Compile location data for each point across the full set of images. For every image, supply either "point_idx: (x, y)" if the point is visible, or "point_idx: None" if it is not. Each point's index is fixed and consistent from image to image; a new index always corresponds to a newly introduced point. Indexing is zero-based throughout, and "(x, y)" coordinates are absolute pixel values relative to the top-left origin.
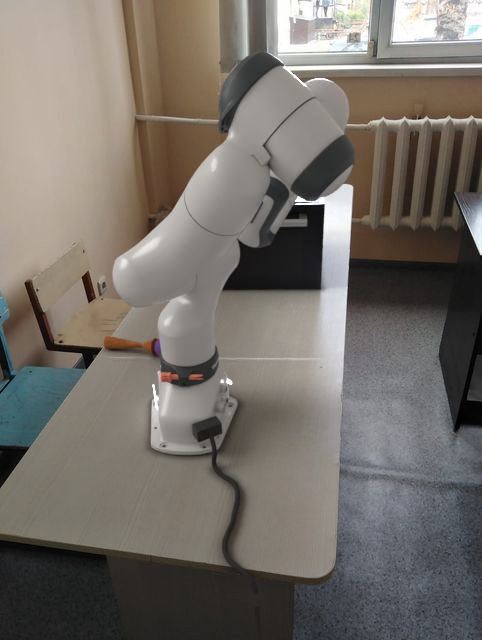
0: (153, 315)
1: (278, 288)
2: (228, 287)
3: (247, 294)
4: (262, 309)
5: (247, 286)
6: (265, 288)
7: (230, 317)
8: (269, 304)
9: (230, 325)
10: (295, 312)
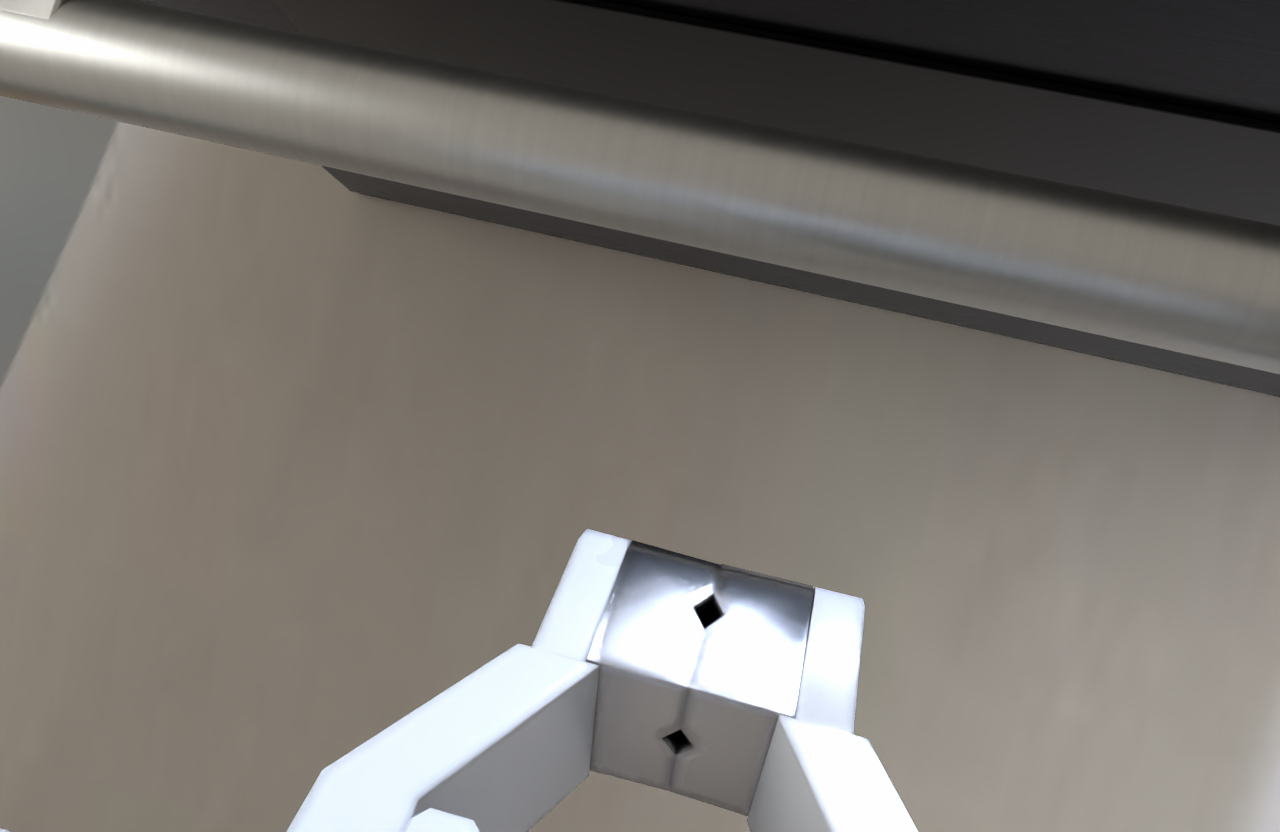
0: (91, 496)
1: (1022, 337)
2: (636, 248)
3: (766, 352)
4: None
5: (779, 279)
6: (918, 313)
7: None
8: (901, 549)
9: None
10: (1076, 727)
